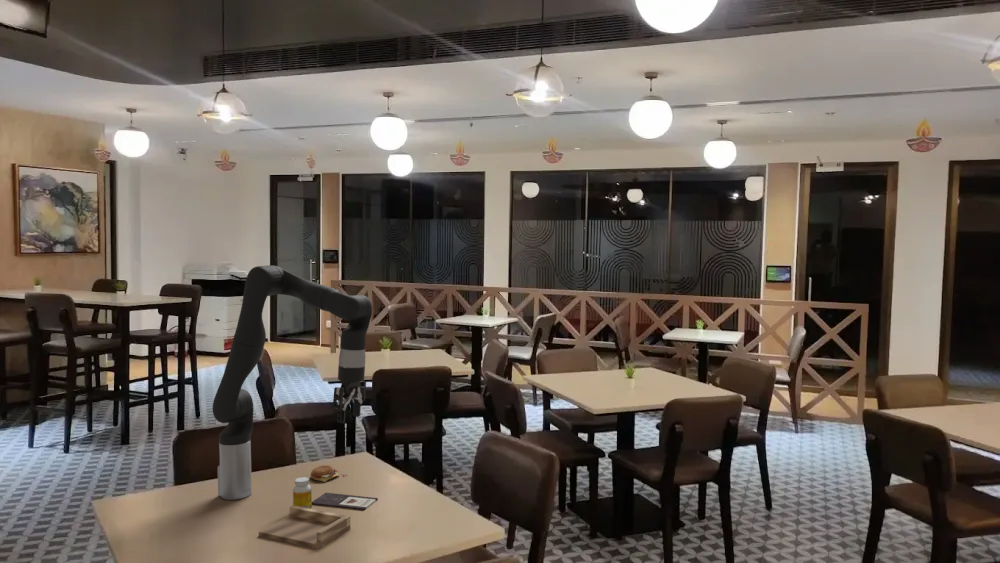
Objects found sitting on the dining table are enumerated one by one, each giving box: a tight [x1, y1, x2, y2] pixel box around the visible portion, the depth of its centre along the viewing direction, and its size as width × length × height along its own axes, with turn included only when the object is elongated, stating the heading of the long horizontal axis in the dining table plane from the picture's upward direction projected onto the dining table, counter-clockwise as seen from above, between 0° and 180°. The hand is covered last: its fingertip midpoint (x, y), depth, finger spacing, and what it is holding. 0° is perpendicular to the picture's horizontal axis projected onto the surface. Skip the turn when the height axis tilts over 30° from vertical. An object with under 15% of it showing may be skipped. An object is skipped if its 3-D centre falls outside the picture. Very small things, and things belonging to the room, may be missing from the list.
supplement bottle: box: [292, 476, 313, 509], centre depth 208 cm, size 5×5×10 cm
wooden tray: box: [258, 504, 351, 550], centre depth 193 cm, size 20×14×4 cm
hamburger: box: [309, 464, 348, 483], centre depth 239 cm, size 14×14×6 cm
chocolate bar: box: [312, 492, 379, 511], centre depth 216 cm, size 9×1×18 cm
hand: (348, 419), depth 203 cm, fingers open, 8 cm apart
